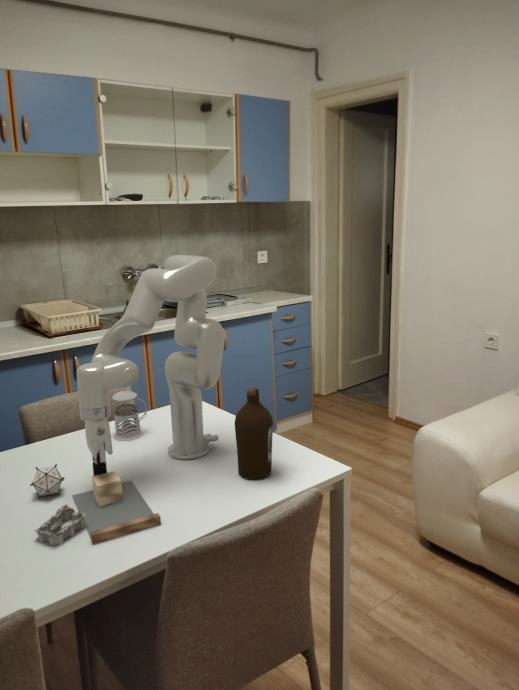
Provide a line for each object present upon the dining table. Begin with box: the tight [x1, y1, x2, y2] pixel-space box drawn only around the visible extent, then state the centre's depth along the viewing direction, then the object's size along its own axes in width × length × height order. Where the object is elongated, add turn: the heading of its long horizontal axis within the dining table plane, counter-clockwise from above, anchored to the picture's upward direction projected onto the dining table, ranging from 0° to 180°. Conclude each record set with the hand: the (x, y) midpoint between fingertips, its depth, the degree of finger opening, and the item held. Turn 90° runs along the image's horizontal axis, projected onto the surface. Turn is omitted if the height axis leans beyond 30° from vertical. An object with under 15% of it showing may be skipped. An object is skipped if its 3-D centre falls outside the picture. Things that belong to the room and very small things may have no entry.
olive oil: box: [234, 386, 274, 481], centre depth 156 cm, size 11×11×25 cm
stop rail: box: [90, 512, 162, 545], centre depth 131 cm, size 16×2×2 cm, turn 118°
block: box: [91, 470, 123, 508], centre depth 145 cm, size 6×6×6 cm
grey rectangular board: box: [71, 480, 155, 540], centre depth 142 cm, size 16×24×1 cm
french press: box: [111, 388, 148, 442], centre depth 184 cm, size 10×12×25 cm
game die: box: [29, 463, 66, 499], centre depth 148 cm, size 9×8×10 cm
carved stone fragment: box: [34, 503, 87, 546], centre depth 131 cm, size 11×8×4 cm
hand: (100, 476), depth 149 cm, fingers closed
